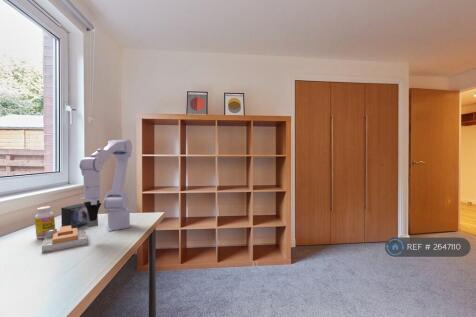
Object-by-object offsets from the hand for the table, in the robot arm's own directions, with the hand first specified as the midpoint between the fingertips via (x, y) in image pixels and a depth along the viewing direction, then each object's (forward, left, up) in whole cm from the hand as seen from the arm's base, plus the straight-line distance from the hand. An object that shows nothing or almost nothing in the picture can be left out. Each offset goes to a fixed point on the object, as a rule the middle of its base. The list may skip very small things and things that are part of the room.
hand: (92, 219), depth 97 cm
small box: (+5, -31, -10) cm, 33 cm away
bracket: (+9, -9, -7) cm, 15 cm away
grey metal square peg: (0, 0, -3) cm, 3 cm away
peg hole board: (+9, -6, -9) cm, 14 cm away
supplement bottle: (+16, -21, -9) cm, 28 cm away
